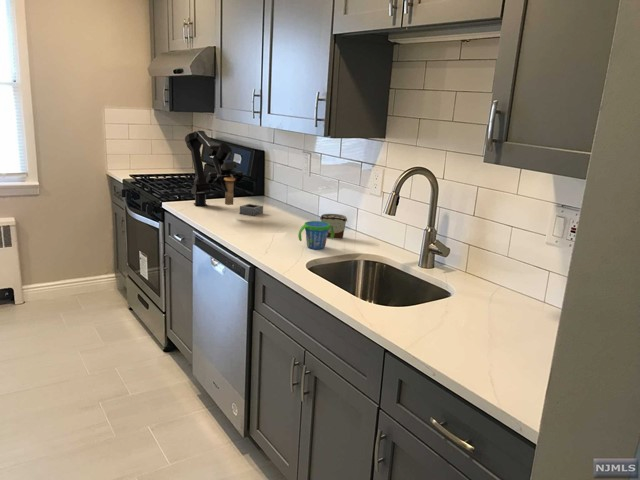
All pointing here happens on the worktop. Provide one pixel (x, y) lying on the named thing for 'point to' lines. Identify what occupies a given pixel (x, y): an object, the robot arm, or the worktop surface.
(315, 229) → the snack cup
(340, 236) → the food container
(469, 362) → the worktop surface
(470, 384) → the worktop surface
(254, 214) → the block
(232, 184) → the pin
